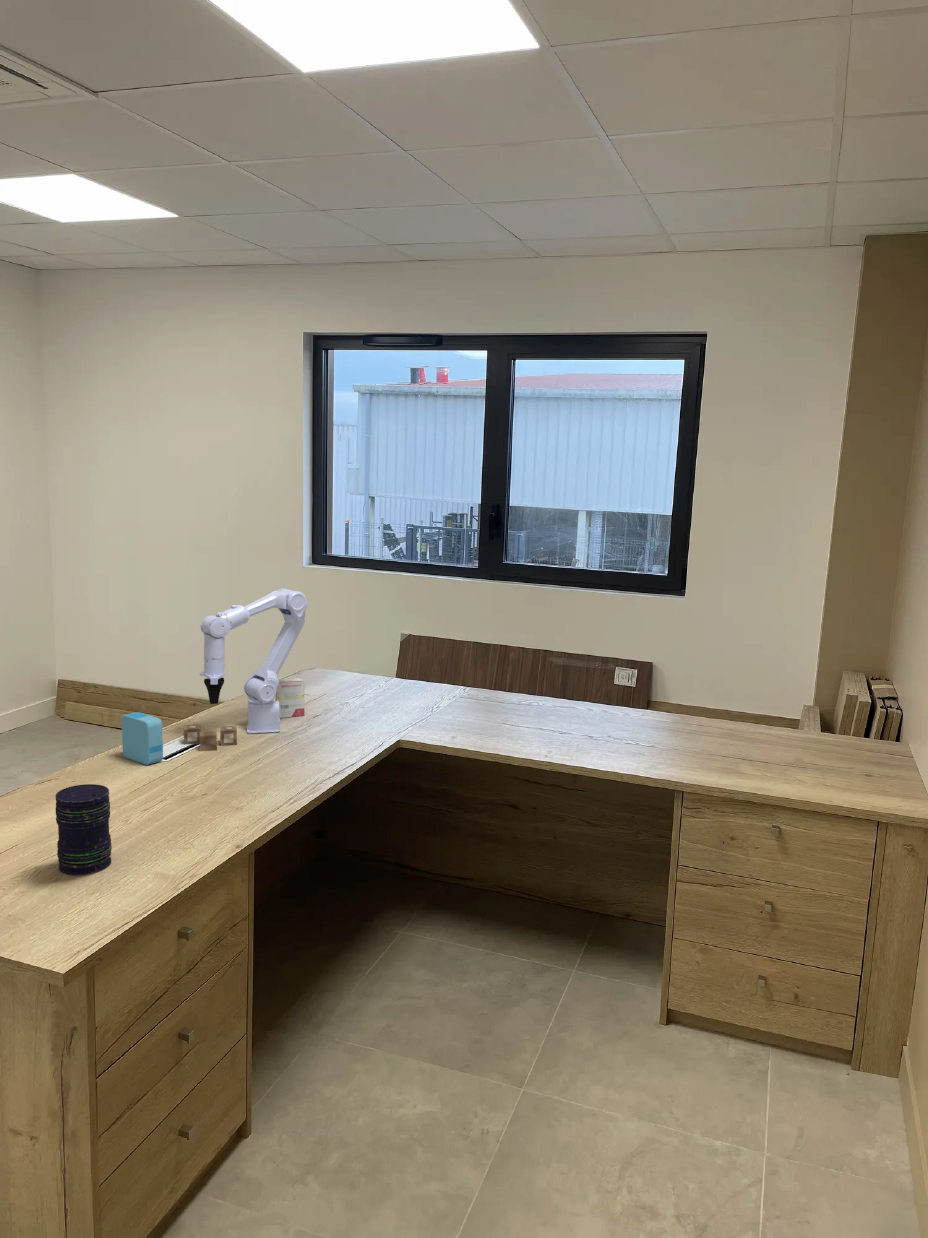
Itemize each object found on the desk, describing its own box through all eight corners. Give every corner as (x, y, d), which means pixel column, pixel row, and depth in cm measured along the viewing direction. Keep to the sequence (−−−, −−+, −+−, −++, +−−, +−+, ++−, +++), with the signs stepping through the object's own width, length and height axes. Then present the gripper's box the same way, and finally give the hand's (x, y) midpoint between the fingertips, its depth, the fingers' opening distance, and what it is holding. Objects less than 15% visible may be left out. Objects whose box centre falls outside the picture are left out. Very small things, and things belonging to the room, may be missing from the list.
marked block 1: (200, 739, 258) (200, 724, 257) (200, 744, 254) (200, 728, 253) (184, 740, 257) (184, 724, 256) (184, 745, 253) (183, 729, 252)
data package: (163, 762, 237) (162, 719, 235) (148, 766, 234) (147, 722, 232) (137, 753, 244) (135, 710, 242) (122, 756, 241) (121, 714, 239)
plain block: (216, 745, 253) (216, 730, 252) (216, 750, 249) (216, 735, 248) (200, 746, 252) (200, 731, 251) (200, 751, 247) (199, 736, 247)
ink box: (301, 712, 290) (301, 677, 288) (304, 716, 286) (304, 680, 284) (274, 714, 287) (274, 678, 285) (278, 718, 282) (278, 682, 280)
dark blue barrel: (46, 870, 173) (42, 797, 170) (84, 850, 182) (81, 781, 179) (86, 879, 169) (83, 805, 167) (123, 859, 178) (120, 788, 176)
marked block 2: (236, 740, 258) (236, 725, 257) (236, 745, 254) (236, 729, 253) (220, 741, 257) (220, 726, 256) (220, 746, 252) (220, 730, 252)
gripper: (200, 652, 262) (200, 697, 264) (199, 662, 248) (199, 710, 250) (224, 652, 264) (224, 697, 266) (225, 662, 250) (225, 709, 252)
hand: (214, 703), depth 258 cm, fingers closed
